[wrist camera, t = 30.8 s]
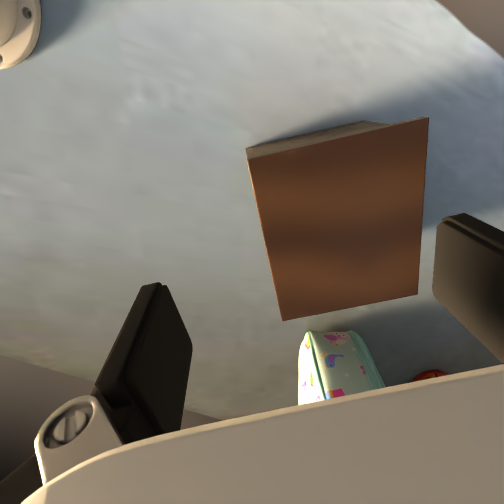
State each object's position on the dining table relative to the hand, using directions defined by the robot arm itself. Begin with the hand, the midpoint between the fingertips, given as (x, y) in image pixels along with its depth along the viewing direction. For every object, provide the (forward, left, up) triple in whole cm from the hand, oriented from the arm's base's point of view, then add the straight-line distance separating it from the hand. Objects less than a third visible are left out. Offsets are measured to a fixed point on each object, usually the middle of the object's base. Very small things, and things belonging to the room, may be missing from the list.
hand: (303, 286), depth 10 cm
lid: (+7, +6, -17) cm, 19 cm away
